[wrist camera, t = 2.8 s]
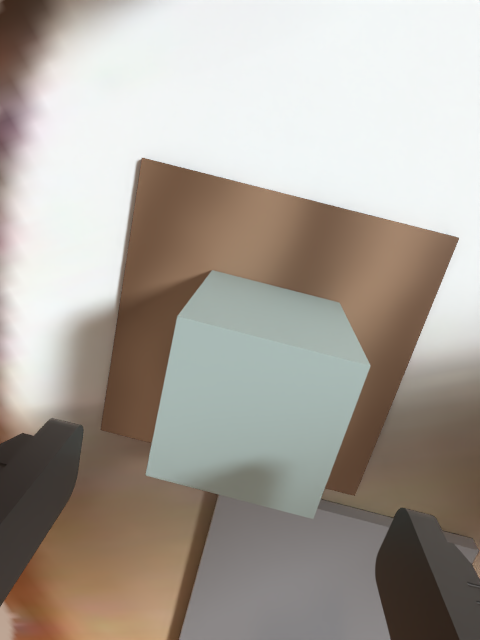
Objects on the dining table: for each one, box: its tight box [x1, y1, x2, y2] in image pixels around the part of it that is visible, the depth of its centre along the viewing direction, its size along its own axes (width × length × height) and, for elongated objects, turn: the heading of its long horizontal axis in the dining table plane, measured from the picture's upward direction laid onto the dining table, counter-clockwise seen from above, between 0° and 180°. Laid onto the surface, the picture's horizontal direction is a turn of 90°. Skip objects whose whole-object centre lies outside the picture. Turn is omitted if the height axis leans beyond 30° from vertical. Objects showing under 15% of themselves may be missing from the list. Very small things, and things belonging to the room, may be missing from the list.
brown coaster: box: [101, 158, 459, 496], centre depth 21 cm, size 14×14×1 cm
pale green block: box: [146, 270, 371, 519], centre depth 17 cm, size 6×6×7 cm
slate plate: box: [179, 494, 479, 640], centre depth 25 cm, size 14×16×1 cm
